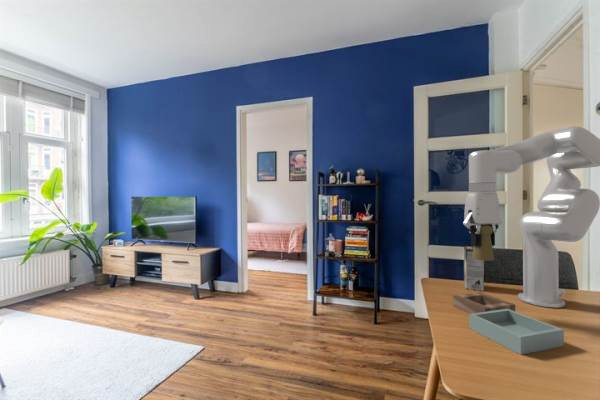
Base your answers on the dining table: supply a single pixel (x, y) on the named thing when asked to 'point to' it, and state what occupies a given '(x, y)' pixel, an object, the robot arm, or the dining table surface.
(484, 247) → the cork
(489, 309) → the socket
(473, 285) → the coffee box
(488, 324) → the tray
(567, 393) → the dining table surface
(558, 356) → the dining table surface
